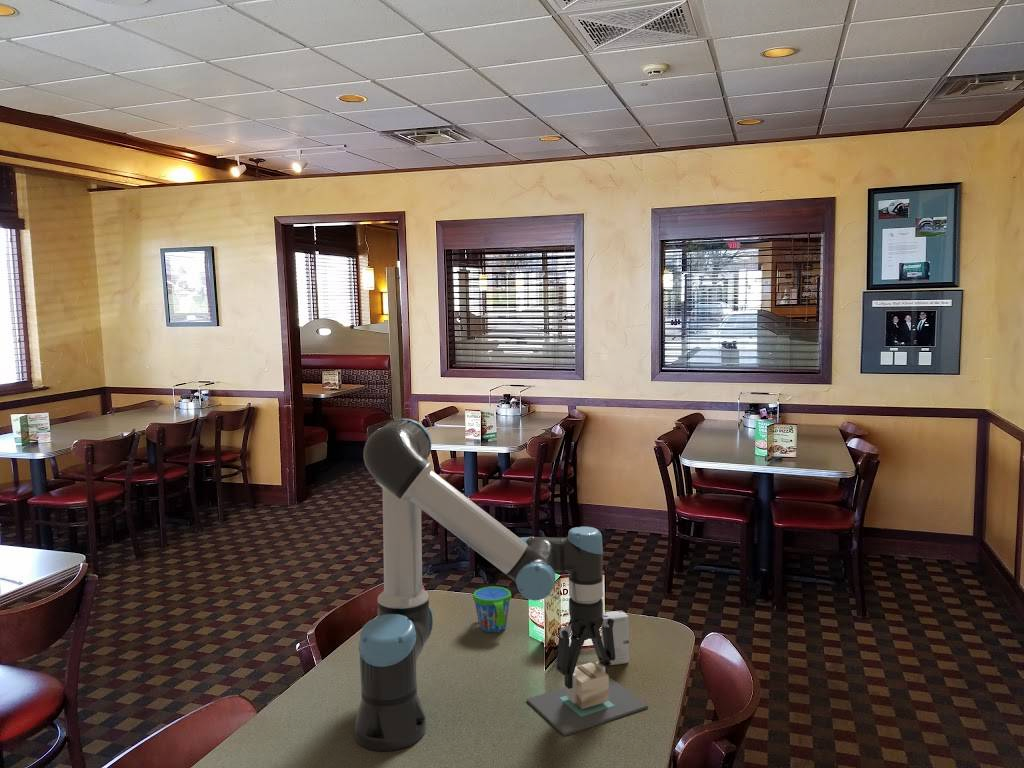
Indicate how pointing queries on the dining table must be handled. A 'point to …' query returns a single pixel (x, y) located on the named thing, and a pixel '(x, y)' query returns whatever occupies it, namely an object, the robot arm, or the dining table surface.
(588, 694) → the birch block
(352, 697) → the dining table surface
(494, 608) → the snack cup
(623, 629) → the skincare box
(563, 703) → the rubber mat
